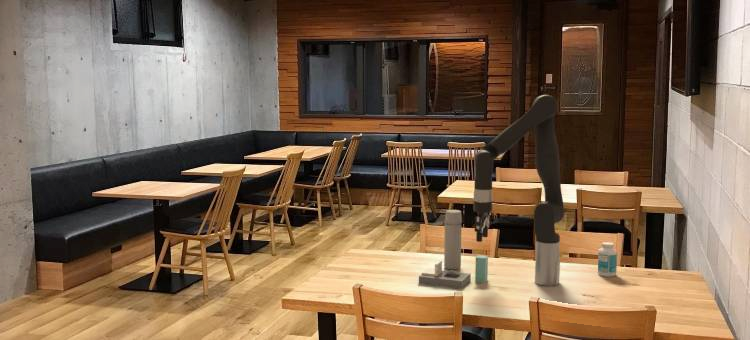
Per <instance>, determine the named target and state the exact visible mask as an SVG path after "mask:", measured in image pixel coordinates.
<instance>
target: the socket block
mask: <svg viewBox="0 0 750 340" xmlns="http://www.w3.org/2000/svg"><path fill="white" fill-rule="evenodd" d="M470 282H471V273H468V272H458V271H450V270H442V273H440V274H439V275H438V276H429V275H422V273H421V274H419V276H418V284H419V285H428V286H437V287H446V288H451V289H452V288H453V289H460V290H461V289H463V288H465V287H466V285H467V284H468V283H470Z"/></svg>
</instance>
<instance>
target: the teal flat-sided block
mask: <svg viewBox="0 0 750 340" xmlns="http://www.w3.org/2000/svg"><path fill="white" fill-rule="evenodd" d="M488 261H489V256H488V255H481V254H478V255H477V256H475V267H474V268H475V271H474V272H475V273H474V274H475V275H474V282H476V281H477V283H486V282H487V281H488V276H489V275H488V272H489V271H488V270H489V269H488V267H489V262H488ZM486 280H487V281H486ZM485 281H486V282H485Z"/></svg>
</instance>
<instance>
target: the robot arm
mask: <svg viewBox="0 0 750 340" xmlns="http://www.w3.org/2000/svg"><path fill="white" fill-rule="evenodd" d="M558 108H559V104H558V101H557V99H556V98H555V97H554V96H553V95H549V94H542V95H539V96H537V97H536V98H535V99H534V100H533V102H532V106H531V107H530V109H528V110H527V111H526V113H525V114H523V115H522V116H521V117H520V118H519V119H517V120H516V121H515V122H513V123H512V124H511V125H509V126H508V127H506V128H505V129H504V130H503V131H502V132H500V133H499V134H498V135H497V136H496V137H494V139H492V140H491V141H490V142H489V143H486V145H484V146H483V147H481V148H480V149H478V151H476V153H475V155H474V163H475V175H474V191H473V204H472V205H473V206H472V207H473V208H472V209H473V212H475V213H477V216H475V217H474V232H475V233H476V238H475V239H476V240H475V241H476V242H477V243H482V241H483V238H488V236H489V227H490V225H491V213H492V212H493V197H494V195H493V173H494V160H495V159H497V158H498V157H500V156H502V155H503V154H505V153H507V152H508V151H509V150H510V149H511V148H513V146H514V145H516V144H517V143H518V142H519V141H521V139H522V138H523V137H525V136H526V135H527V134H528V133H530V131H532V130H533V129H534V128H535V147H534V148H535V153H534V154H535V155H534V156H535V168H536V172H537V175H538V177H539V179H540V181H541V183H542V185H543V189H544V201H542V202H540V203H537V205H536V206H535V207H534V212H533V230H534V231H533V232H534V235H535V259H534V260H535V263H534V264H535V266H534V283H535V284H537V285H539V286H546V287H549V286H550V287H551V286H558V285H559V283H560V274H561V272H560V270H561V267H560V266H561V259H560V243H561V242H560V241H561V239H560V238H561V237H560V234H559V233H558V232H556V230H555V229H556V228H555V224H557V223H560V222H561V221H562V220H563V218H564V216H565V205H564V199H563V193H562V184H561V170H560V169H561V167H560V165H561V164H560V162H561V161H560V151H559V144H558V140H557V136H556V131H555V115H556V113H557V112H558V110H559V109H558Z"/></svg>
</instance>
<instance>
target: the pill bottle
mask: <svg viewBox="0 0 750 340" xmlns="http://www.w3.org/2000/svg"><path fill="white" fill-rule="evenodd" d="M601 246H602V247H601V248H599V249H598V253H597V256H598V257H597V273H598V275H599V276H601V277H605V278H606V277H607V278H608V277H610V278H611V277H615V276H616V275H617V262H618V261H617V259H618V251H617V250H616V248H614V247H615V245H614V243H613V242H607V241H606V242H605V241H604V242H601Z"/></svg>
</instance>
